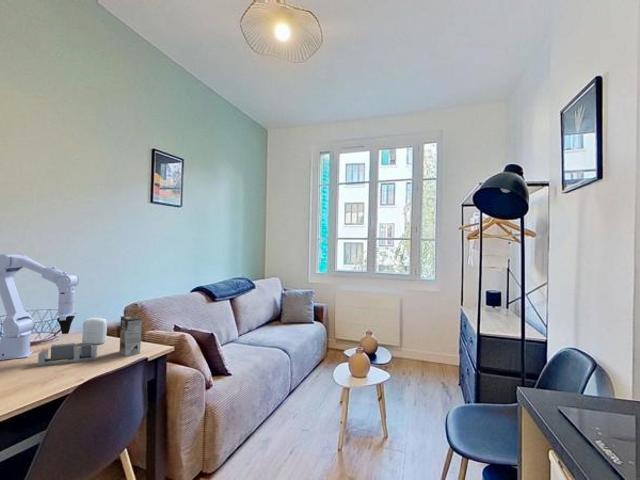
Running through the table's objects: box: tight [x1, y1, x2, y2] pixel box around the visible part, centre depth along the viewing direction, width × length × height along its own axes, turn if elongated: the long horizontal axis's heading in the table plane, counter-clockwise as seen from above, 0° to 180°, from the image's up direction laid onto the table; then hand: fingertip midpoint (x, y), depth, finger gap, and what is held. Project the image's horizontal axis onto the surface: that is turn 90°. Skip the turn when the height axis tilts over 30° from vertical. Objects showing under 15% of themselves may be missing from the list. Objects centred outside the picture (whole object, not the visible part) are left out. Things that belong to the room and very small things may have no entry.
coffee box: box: [119, 314, 143, 357], centre depth 152 cm, size 9×6×16 cm
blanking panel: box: [50, 342, 76, 361], centre depth 138 cm, size 8×2×7 cm, turn 118°
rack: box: [37, 343, 98, 367], centre depth 138 cm, size 19×6×6 cm, turn 118°
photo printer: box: [81, 317, 108, 345], centre depth 163 cm, size 10×4×12 cm, turn 98°
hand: (65, 333), depth 144 cm, fingers closed
